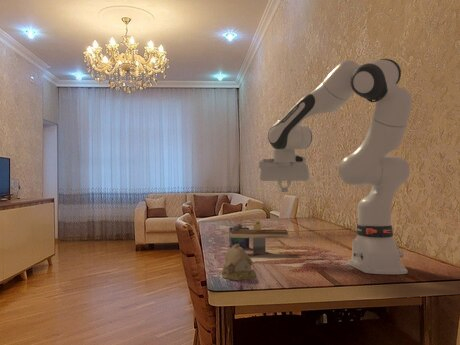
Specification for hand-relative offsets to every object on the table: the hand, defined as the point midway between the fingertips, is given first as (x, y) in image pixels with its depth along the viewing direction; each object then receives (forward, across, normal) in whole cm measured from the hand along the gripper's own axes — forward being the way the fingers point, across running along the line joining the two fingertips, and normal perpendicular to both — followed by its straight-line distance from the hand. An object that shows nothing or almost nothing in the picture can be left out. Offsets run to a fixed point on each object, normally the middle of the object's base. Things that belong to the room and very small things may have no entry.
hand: (284, 191), depth 169 cm
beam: (+25, -11, -1) cm, 27 cm away
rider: (+17, -11, -1) cm, 20 cm away
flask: (+25, -20, +12) cm, 34 cm away
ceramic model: (+26, -18, -40) cm, 51 cm away
